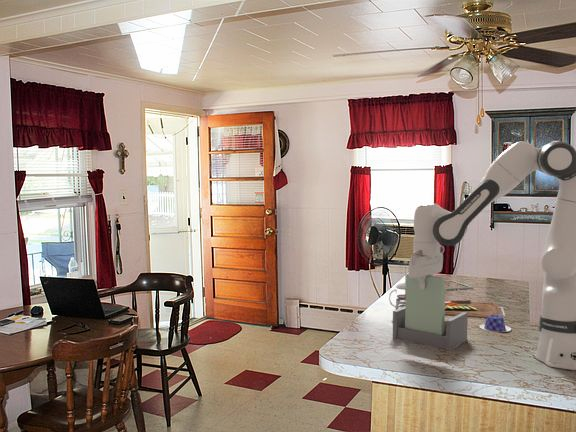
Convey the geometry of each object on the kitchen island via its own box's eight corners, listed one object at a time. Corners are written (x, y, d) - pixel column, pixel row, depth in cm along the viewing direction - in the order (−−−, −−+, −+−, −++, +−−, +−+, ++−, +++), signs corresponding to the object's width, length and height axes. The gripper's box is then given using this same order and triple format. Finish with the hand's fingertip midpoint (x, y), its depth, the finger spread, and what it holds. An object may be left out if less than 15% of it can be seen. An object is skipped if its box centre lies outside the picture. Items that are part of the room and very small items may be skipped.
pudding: (489, 334, 212) (490, 321, 211) (473, 326, 223) (473, 313, 223) (517, 332, 214) (518, 319, 214) (500, 324, 226) (500, 312, 225)
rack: (467, 343, 199) (467, 312, 198) (450, 354, 187) (450, 321, 187) (411, 332, 213) (412, 303, 212) (392, 342, 202) (392, 311, 201)
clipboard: (410, 283, 307) (457, 280, 315) (410, 286, 307) (457, 283, 315) (427, 290, 288) (477, 286, 297) (427, 293, 289) (477, 289, 297)
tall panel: (444, 333, 193) (445, 277, 192) (441, 335, 191) (442, 278, 190) (408, 326, 202) (409, 273, 201) (405, 328, 200) (406, 273, 199)
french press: (417, 322, 229) (418, 262, 227) (388, 320, 231) (389, 261, 229) (416, 316, 238) (417, 259, 237) (389, 315, 241) (389, 258, 239)
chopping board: (398, 313, 246) (398, 306, 246) (404, 300, 272) (404, 294, 271) (506, 320, 233) (506, 313, 233) (502, 306, 258) (502, 300, 258)
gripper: (421, 253, 185) (420, 293, 186) (446, 247, 200) (445, 284, 201) (404, 251, 189) (403, 291, 190) (430, 245, 204) (429, 282, 205)
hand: (425, 287), depth 196 cm, fingers closed on tall panel, 2 cm apart
